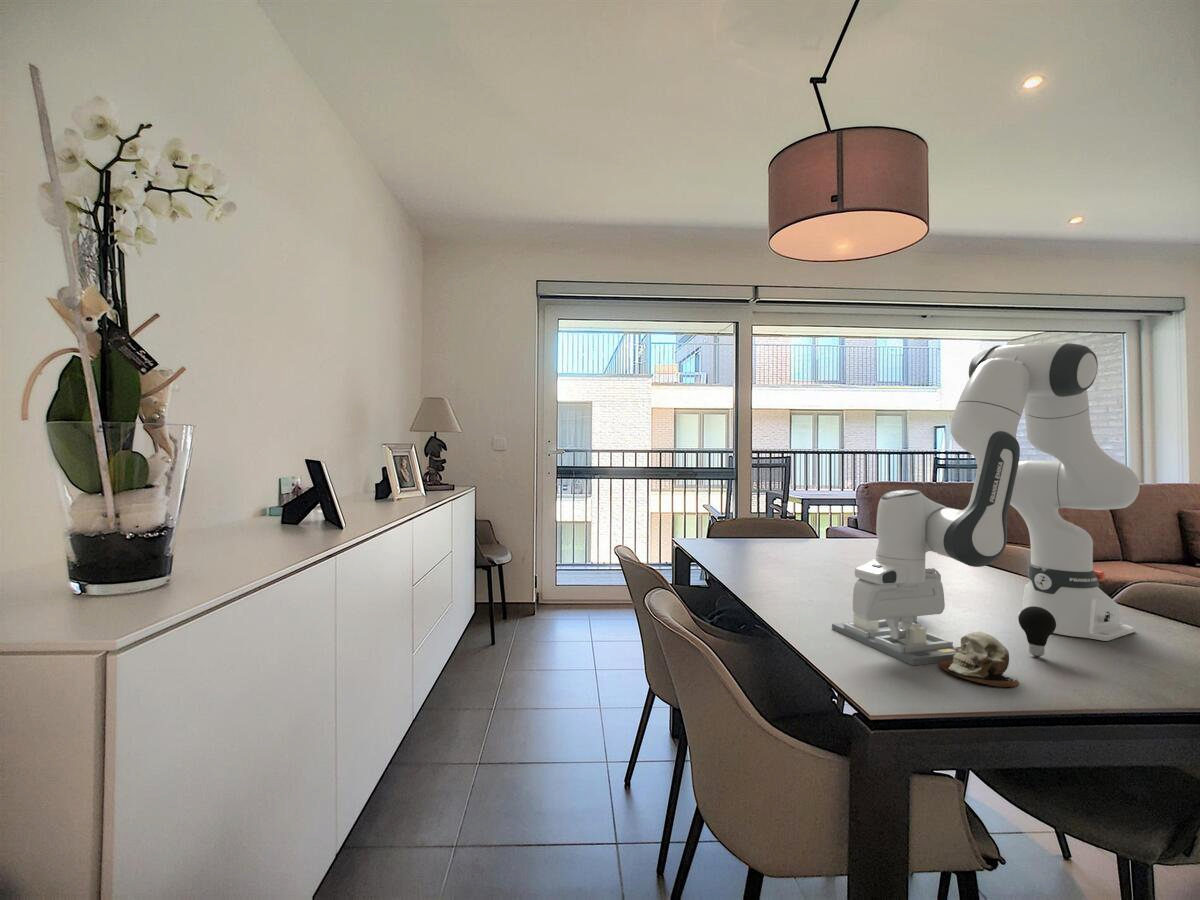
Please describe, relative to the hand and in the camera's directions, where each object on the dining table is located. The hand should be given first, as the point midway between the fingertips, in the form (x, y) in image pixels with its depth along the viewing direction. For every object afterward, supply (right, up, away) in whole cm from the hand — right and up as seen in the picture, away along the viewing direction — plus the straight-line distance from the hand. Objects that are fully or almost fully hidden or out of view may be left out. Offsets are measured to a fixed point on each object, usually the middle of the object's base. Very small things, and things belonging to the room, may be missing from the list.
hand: (899, 638), depth 111 cm
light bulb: (+26, -3, -2) cm, 26 cm away
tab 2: (+3, -1, +1) cm, 3 cm away
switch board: (+2, -3, +5) cm, 6 cm away
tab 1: (-3, -1, +8) cm, 9 cm away
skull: (+8, -3, -11) cm, 14 cm away
